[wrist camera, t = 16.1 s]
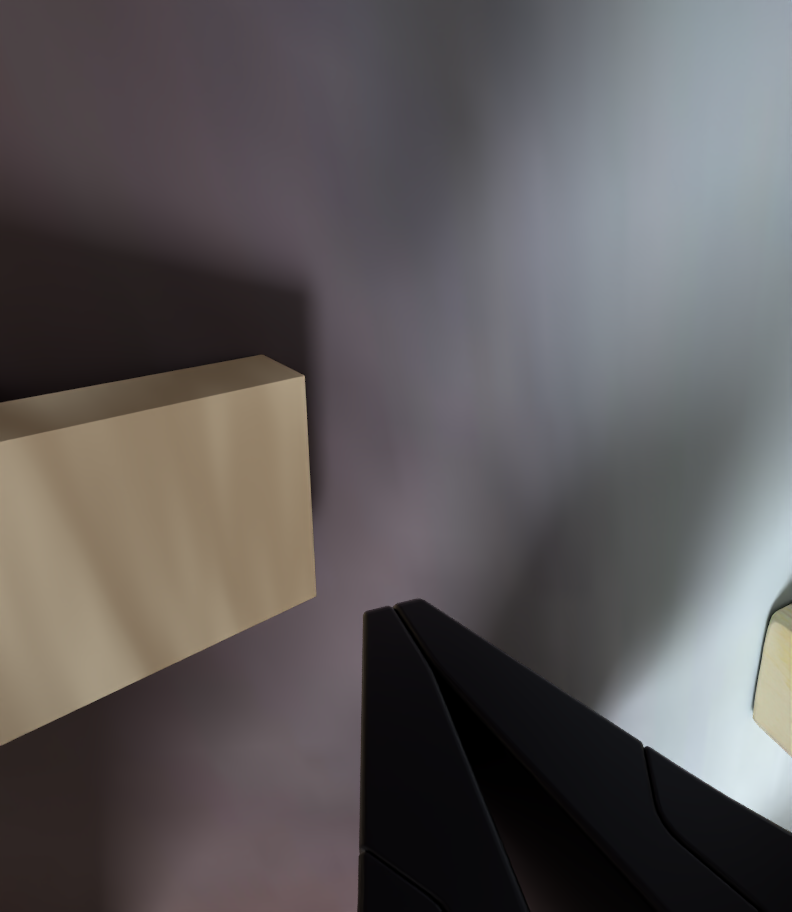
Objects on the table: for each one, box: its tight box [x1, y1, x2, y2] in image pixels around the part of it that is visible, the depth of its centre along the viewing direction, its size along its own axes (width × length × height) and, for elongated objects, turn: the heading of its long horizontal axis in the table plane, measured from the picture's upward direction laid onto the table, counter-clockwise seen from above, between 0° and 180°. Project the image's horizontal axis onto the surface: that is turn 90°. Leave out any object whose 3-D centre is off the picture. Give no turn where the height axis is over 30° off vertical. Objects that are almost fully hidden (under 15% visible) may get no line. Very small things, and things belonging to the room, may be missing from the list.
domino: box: [0, 355, 316, 746], centre depth 10 cm, size 2×5×8 cm
